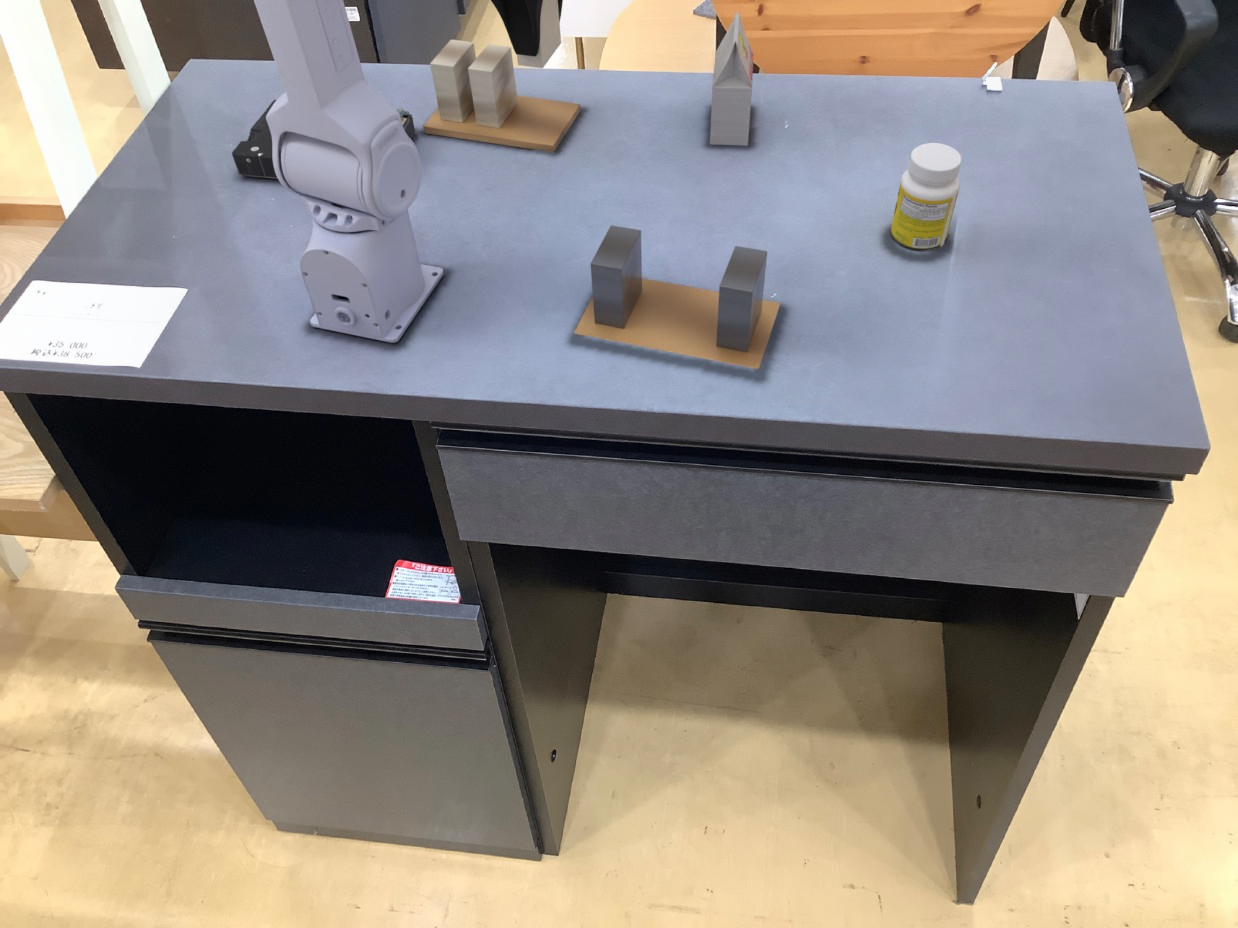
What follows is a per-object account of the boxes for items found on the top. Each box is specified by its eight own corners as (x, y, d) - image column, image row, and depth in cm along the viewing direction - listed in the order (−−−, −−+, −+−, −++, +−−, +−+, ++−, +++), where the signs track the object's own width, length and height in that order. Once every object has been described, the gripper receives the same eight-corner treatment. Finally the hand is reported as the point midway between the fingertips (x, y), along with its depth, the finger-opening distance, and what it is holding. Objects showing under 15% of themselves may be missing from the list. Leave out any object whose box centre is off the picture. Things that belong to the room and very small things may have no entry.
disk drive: (239, 180, 95) (384, 189, 93) (229, 154, 93) (377, 163, 91) (280, 123, 102) (417, 130, 100) (272, 98, 100) (411, 105, 98)
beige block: (542, 68, 91) (536, 3, 87) (517, 65, 92) (510, 0, 87) (561, 43, 94) (556, -21, 90) (537, 40, 95) (530, -24, 90)
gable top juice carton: (709, 144, 96) (714, 45, 89) (713, 108, 101) (717, 10, 93) (747, 145, 96) (755, 46, 89) (749, 109, 100) (756, 11, 93)
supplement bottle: (909, 218, 88) (929, 133, 81) (955, 240, 85) (979, 154, 79) (877, 242, 86) (894, 157, 79) (923, 266, 83) (945, 180, 77)
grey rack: (758, 376, 75) (765, 308, 70) (574, 340, 79) (567, 272, 74) (779, 310, 80) (787, 241, 75) (605, 278, 84) (601, 211, 78)
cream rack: (553, 153, 96) (547, 87, 91) (424, 133, 100) (411, 69, 94) (580, 111, 101) (576, 47, 96) (456, 93, 104) (445, 30, 99)
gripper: (535, -82, 76) (550, 83, 87) (595, -148, 85) (602, 9, 95) (451, -90, 78) (476, 73, 88) (519, -154, 87) (534, 1, 97)
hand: (537, 40), depth 92 cm, fingers closed on beige block, 5 cm apart
